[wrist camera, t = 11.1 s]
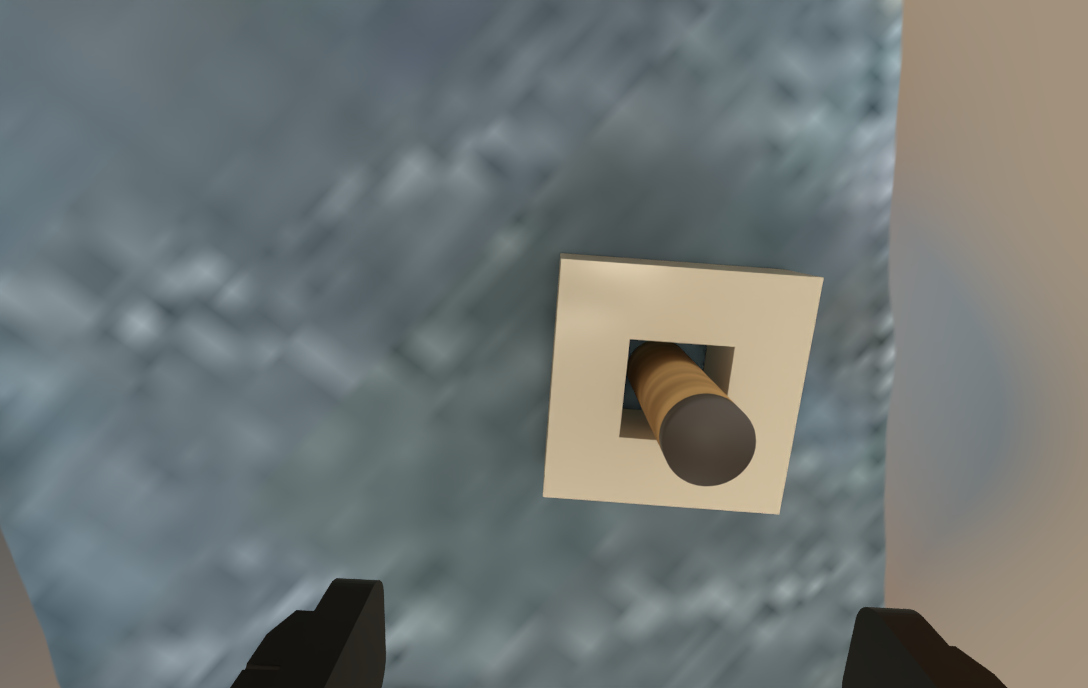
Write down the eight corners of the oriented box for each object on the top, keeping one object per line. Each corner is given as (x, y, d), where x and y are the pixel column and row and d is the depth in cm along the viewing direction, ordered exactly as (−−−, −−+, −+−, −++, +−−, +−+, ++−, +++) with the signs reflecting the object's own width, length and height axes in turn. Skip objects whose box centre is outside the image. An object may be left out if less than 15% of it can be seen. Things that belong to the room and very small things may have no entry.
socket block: (560, 253, 33) (561, 258, 28) (784, 269, 33) (823, 277, 28) (544, 460, 37) (542, 496, 32) (749, 474, 36) (779, 514, 32)
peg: (630, 337, 34) (669, 397, 23) (692, 341, 34) (763, 404, 23) (624, 396, 35) (658, 482, 24) (684, 400, 35) (748, 489, 24)
